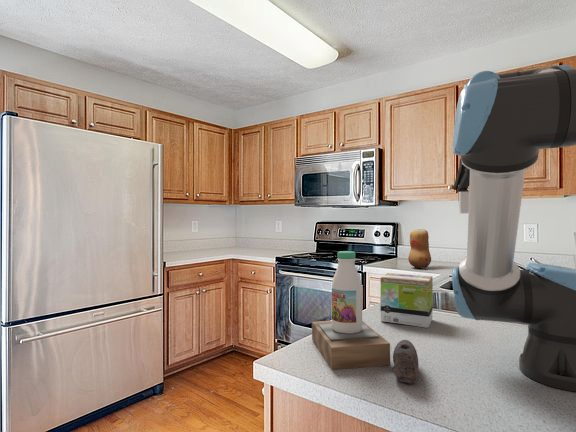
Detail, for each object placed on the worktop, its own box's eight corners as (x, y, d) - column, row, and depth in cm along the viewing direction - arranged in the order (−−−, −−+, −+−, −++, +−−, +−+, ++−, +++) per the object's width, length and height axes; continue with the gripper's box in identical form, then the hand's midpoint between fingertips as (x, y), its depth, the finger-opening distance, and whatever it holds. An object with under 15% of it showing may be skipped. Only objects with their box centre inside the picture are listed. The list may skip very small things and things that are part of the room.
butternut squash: (404, 268, 228) (403, 229, 228) (415, 266, 237) (415, 228, 237) (424, 271, 217) (424, 229, 217) (435, 268, 226) (435, 228, 226)
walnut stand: (390, 364, 83) (390, 341, 83) (331, 369, 81) (331, 345, 81) (359, 336, 103) (359, 317, 103) (312, 339, 101) (311, 320, 101)
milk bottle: (343, 323, 98) (343, 249, 98) (368, 329, 92) (367, 251, 92) (325, 329, 92) (325, 251, 92) (350, 336, 87) (349, 253, 87)
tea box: (380, 322, 116) (379, 276, 116) (386, 314, 125) (386, 272, 125) (429, 328, 109) (429, 280, 109) (433, 320, 118) (432, 275, 118)
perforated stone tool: (395, 359, 87) (394, 330, 87) (418, 361, 85) (417, 332, 85) (391, 387, 73) (390, 353, 73) (418, 391, 71) (418, 356, 71)
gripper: (526, 127, 89) (527, 212, 89) (462, 146, 114) (463, 213, 114) (499, 126, 88) (500, 213, 88) (440, 145, 113) (441, 213, 113)
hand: (479, 213), depth 101 cm, fingers open, 13 cm apart
